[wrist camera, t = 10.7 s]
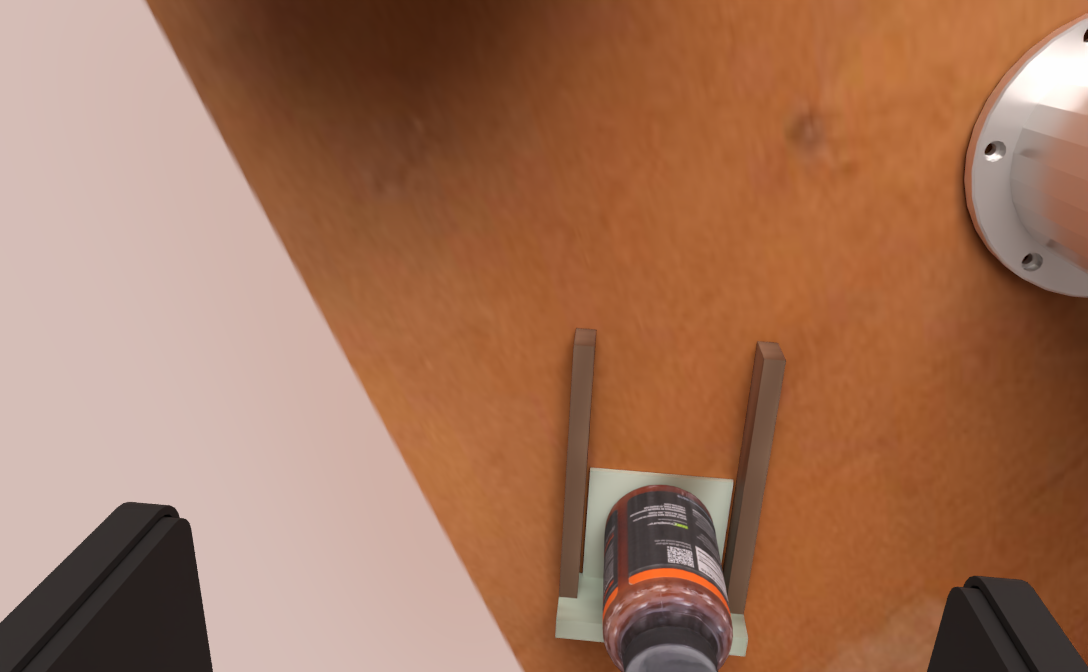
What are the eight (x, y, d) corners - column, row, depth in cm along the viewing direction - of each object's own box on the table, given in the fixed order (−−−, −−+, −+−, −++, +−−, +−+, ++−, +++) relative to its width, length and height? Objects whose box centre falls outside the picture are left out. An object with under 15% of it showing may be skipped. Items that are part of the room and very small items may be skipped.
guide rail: (777, 342, 40) (793, 376, 37) (735, 604, 47) (745, 656, 43) (576, 328, 41) (571, 359, 37) (560, 588, 47) (555, 637, 44)
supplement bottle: (623, 580, 46) (622, 748, 36) (590, 494, 44) (578, 644, 34) (727, 557, 45) (757, 723, 35) (697, 467, 43) (720, 614, 33)
